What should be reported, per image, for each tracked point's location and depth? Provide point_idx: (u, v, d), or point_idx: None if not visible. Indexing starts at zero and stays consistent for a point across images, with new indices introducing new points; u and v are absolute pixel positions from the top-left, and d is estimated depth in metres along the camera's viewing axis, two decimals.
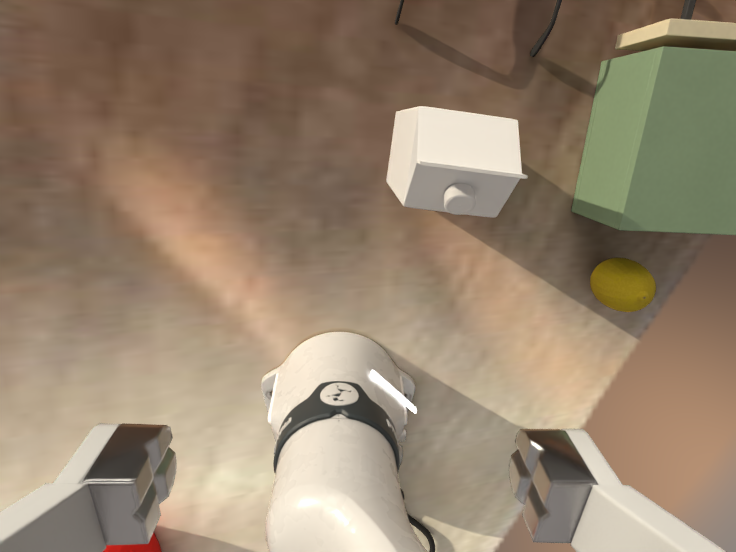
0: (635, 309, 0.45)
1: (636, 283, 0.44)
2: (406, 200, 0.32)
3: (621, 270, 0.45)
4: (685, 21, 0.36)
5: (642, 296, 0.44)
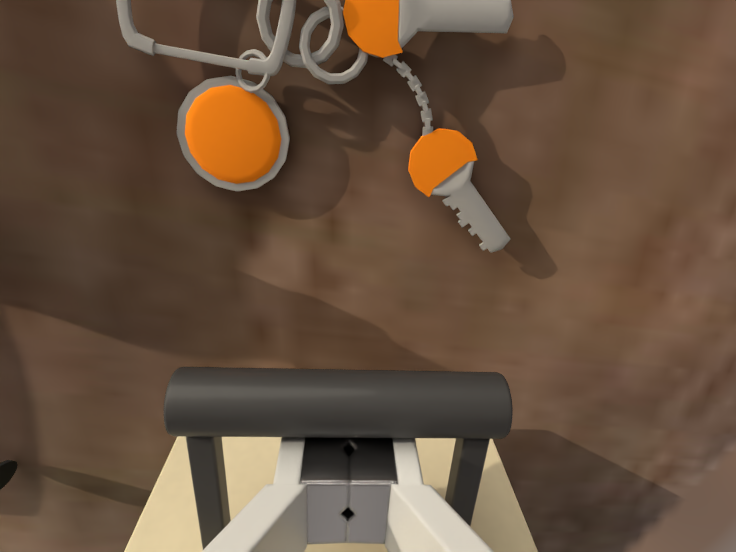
0: None
1: None
2: None
3: None
4: None
5: None
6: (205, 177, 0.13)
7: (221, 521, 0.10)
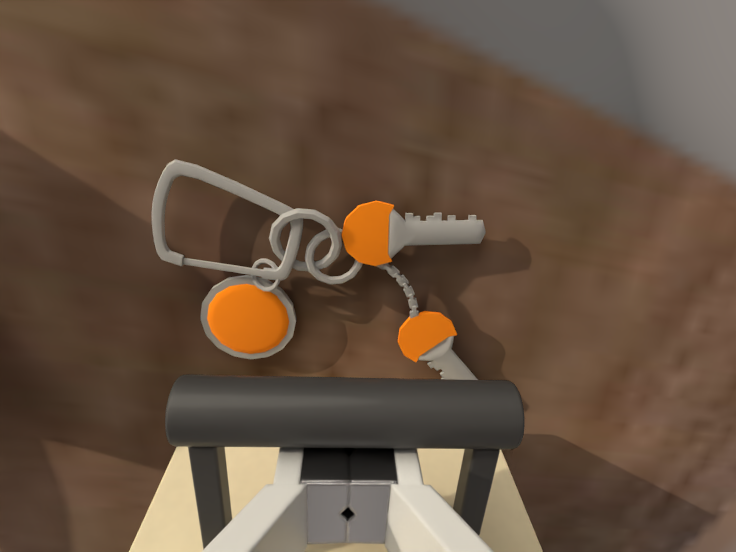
0: None
1: None
2: None
3: None
4: None
5: None
6: (224, 349, 0.16)
7: None
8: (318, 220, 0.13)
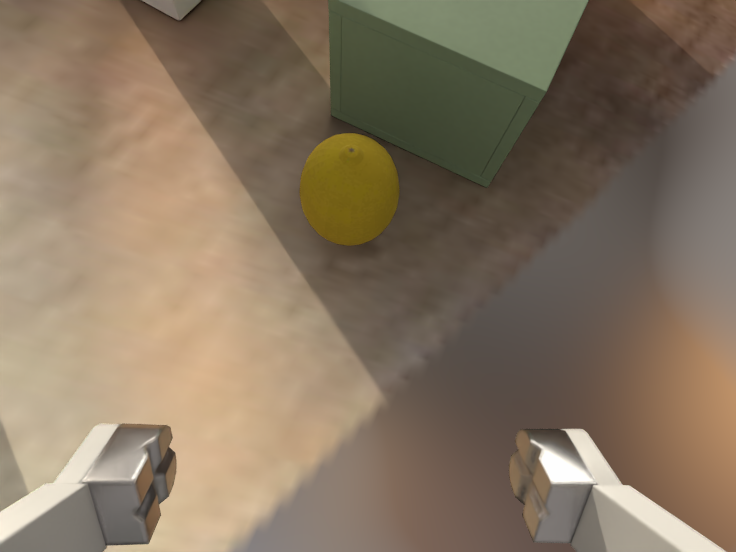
0: (337, 190, 0.21)
1: (350, 136, 0.22)
2: None
3: None
4: None
5: (348, 146, 0.21)
6: None
7: None
8: None
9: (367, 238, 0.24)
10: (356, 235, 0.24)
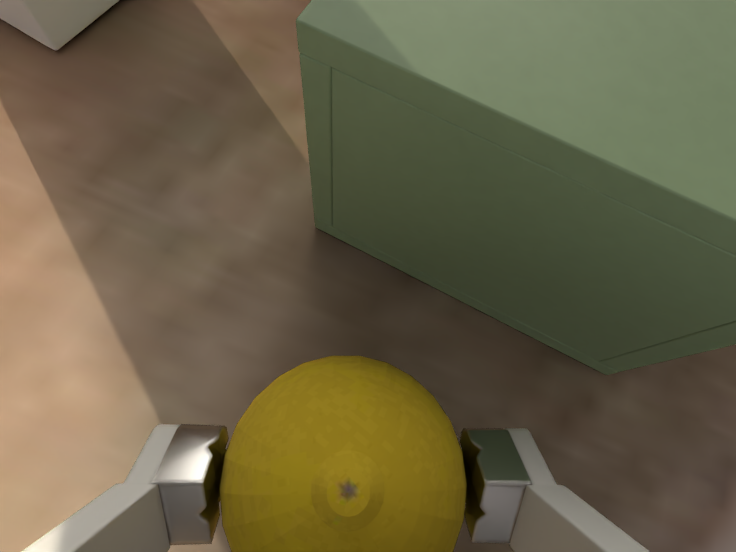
0: None
1: (347, 402, 0.08)
2: None
3: (333, 357, 0.10)
4: None
5: (340, 475, 0.07)
6: None
7: None
8: None
9: None
10: None
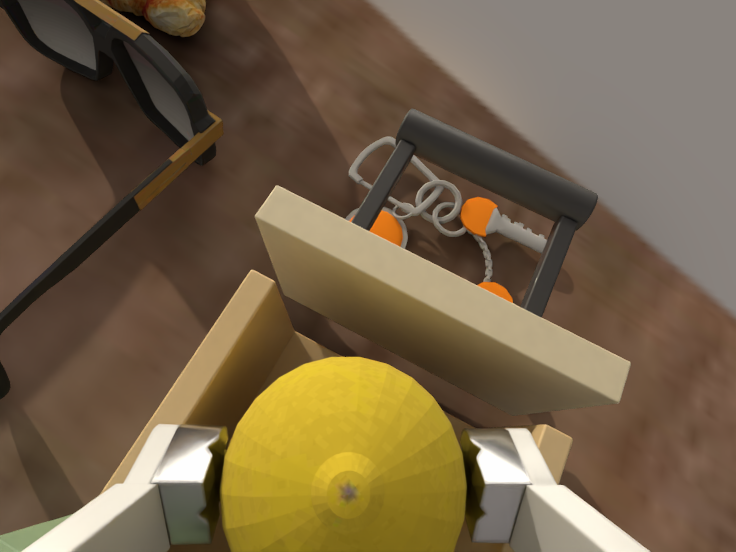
0: None
1: (347, 404, 0.08)
2: None
3: (333, 358, 0.10)
4: (314, 208, 0.13)
5: (340, 477, 0.07)
6: None
7: (380, 203, 0.14)
8: (454, 189, 0.22)
9: None
10: None
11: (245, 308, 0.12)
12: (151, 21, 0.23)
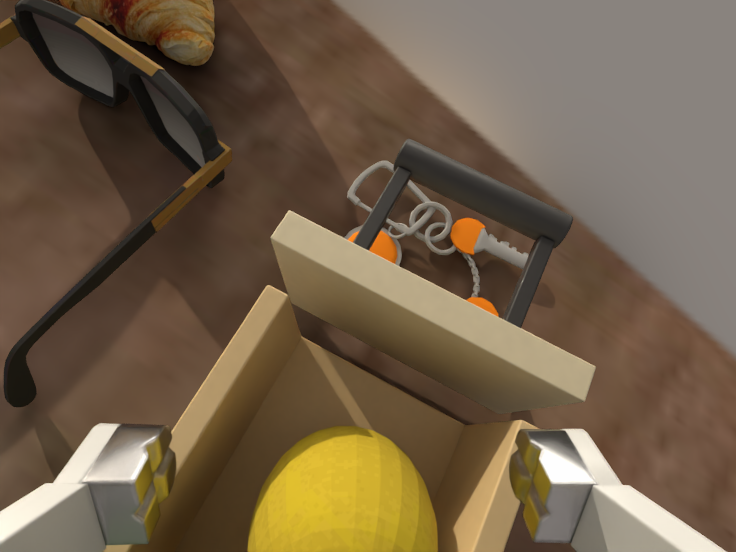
0: None
1: None
2: None
3: (332, 487, 0.11)
4: (322, 231, 0.14)
5: None
6: None
7: (380, 224, 0.16)
8: (445, 210, 0.23)
9: None
10: None
11: (263, 319, 0.13)
12: (164, 51, 0.25)
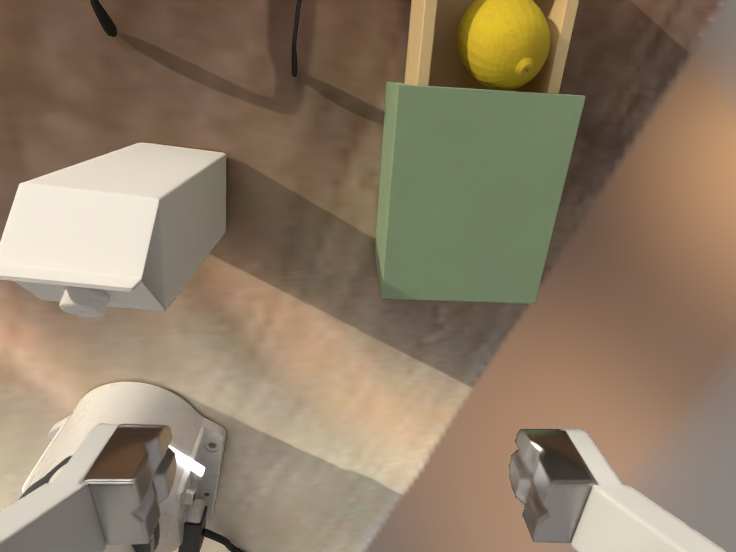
0: (512, 87, 0.29)
1: (519, 43, 0.26)
2: (37, 295, 0.25)
3: (502, 16, 0.26)
4: None
5: (524, 67, 0.27)
6: None
7: None
8: None
9: None
10: None
11: None
12: None
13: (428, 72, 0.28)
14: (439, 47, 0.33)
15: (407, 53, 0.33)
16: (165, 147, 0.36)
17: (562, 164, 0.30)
